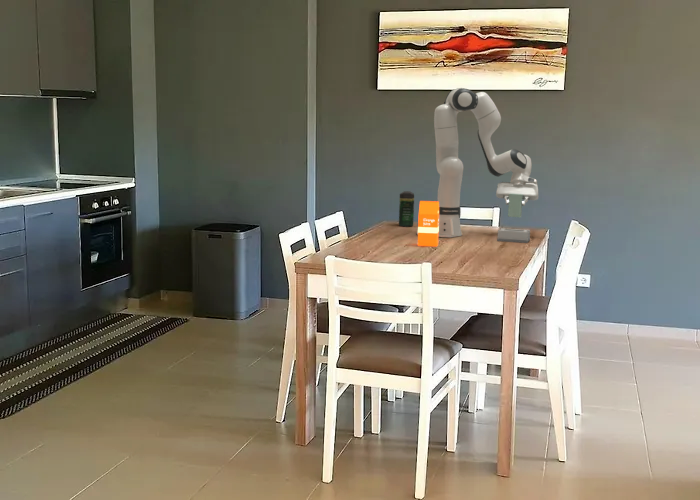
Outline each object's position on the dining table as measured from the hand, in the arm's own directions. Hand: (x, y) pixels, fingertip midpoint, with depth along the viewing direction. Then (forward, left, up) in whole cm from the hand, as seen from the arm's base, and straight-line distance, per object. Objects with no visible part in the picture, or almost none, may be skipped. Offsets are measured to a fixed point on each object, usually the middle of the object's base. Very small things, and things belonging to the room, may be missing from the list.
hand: (515, 204), depth 373 cm
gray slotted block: (-2, -7, -16) cm, 18 cm away
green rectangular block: (0, +1, -6) cm, 6 cm away
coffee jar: (-49, +41, -17) cm, 66 cm away
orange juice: (-44, -22, -17) cm, 52 cm away
